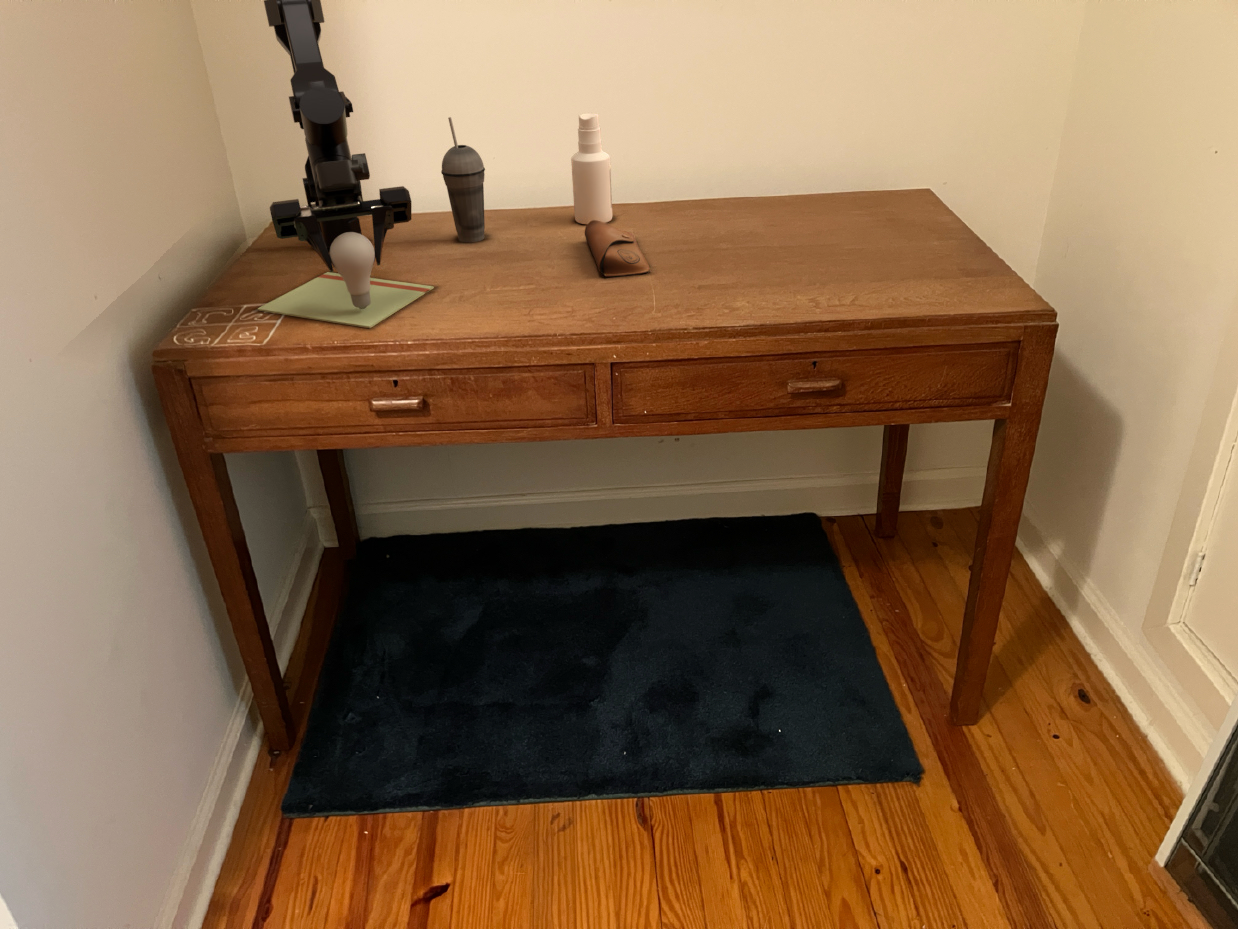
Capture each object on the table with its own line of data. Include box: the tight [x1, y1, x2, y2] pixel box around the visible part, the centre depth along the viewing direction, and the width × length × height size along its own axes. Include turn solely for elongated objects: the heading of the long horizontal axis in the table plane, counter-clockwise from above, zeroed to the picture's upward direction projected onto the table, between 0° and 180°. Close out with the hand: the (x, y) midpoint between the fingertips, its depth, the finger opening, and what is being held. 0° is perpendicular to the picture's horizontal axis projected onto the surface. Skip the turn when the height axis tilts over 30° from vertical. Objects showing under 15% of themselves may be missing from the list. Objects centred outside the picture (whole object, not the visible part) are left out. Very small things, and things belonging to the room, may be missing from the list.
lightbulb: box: [329, 232, 376, 309], centre depth 128 cm, size 6×6×11 cm
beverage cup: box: [441, 116, 486, 243], centre depth 153 cm, size 7×7×20 cm
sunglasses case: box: [584, 220, 651, 278], centre depth 147 cm, size 18×7×7 cm
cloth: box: [257, 271, 435, 329], centre depth 136 cm, size 20×16×1 cm
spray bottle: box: [570, 112, 613, 226], centre depth 160 cm, size 7×7×18 cm
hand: (355, 267), depth 126 cm, fingers closed on lightbulb, 6 cm apart
